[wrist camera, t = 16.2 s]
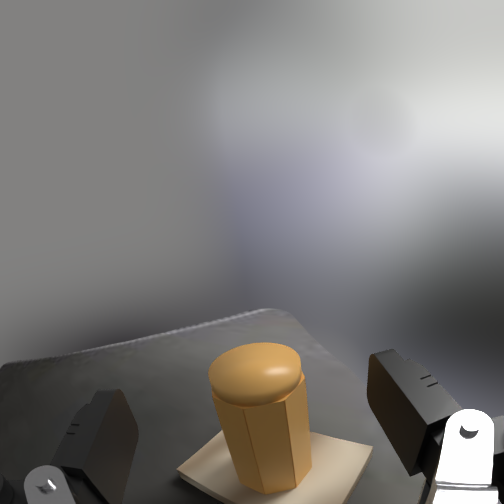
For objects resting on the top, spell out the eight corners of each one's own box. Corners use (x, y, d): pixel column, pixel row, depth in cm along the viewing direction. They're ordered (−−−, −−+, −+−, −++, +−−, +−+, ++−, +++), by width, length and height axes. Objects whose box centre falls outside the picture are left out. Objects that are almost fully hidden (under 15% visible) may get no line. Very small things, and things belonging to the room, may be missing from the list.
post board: (181, 478, 23) (150, 416, 21) (246, 419, 31) (231, 356, 29) (319, 544, 15) (318, 494, 13) (371, 456, 22) (379, 388, 20)
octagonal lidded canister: (224, 474, 22) (189, 376, 19) (265, 434, 26) (245, 336, 24) (283, 503, 18) (265, 405, 16) (322, 453, 23) (316, 351, 20)
